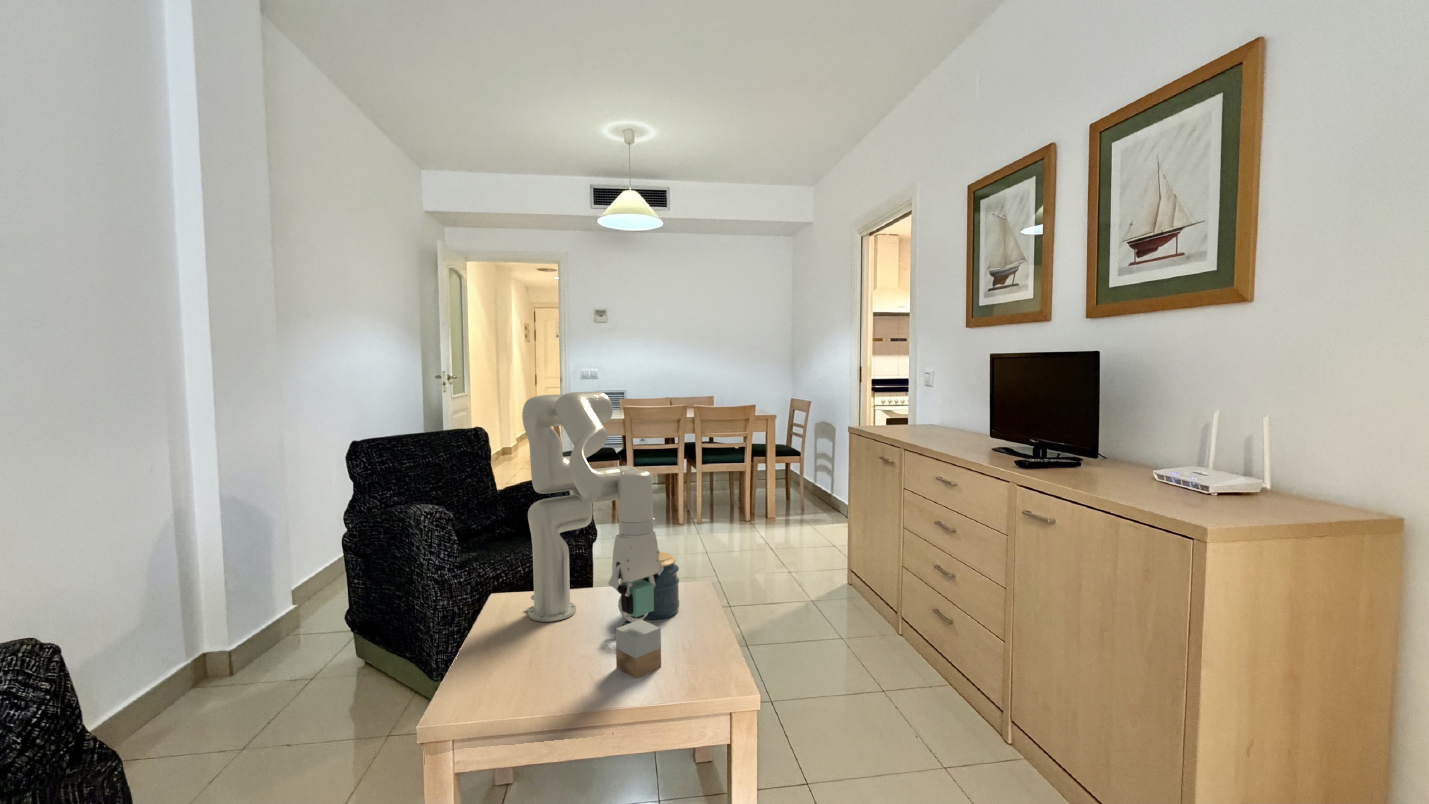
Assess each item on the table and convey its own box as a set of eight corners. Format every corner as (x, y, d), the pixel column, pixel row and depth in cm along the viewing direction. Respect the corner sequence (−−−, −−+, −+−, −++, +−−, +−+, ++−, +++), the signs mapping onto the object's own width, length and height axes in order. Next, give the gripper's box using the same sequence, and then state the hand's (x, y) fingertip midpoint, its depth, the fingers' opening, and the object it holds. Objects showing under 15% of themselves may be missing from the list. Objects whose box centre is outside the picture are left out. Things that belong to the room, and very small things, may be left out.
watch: (645, 639, 151) (645, 595, 150) (615, 636, 153) (614, 592, 152) (653, 630, 156) (653, 587, 156) (624, 627, 158) (623, 585, 158)
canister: (666, 599, 178) (665, 539, 177) (687, 614, 166) (686, 549, 166) (624, 608, 171) (623, 545, 170) (643, 624, 160) (642, 557, 159)
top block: (616, 648, 136) (615, 628, 136) (641, 638, 141) (641, 619, 141) (635, 658, 131) (635, 637, 131) (660, 647, 136) (660, 628, 136)
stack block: (621, 611, 136) (621, 584, 135) (639, 605, 139) (639, 578, 139) (636, 617, 132) (635, 589, 132) (653, 610, 136) (653, 583, 136)
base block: (616, 668, 136) (616, 648, 136) (641, 658, 141) (640, 638, 141) (636, 679, 131) (636, 658, 131) (661, 667, 136) (660, 647, 136)
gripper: (654, 517, 144) (655, 594, 144) (593, 531, 131) (595, 615, 132) (676, 522, 139) (677, 602, 139) (615, 537, 126) (617, 624, 127)
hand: (637, 607), depth 136 cm, fingers closed on stack block, 5 cm apart
